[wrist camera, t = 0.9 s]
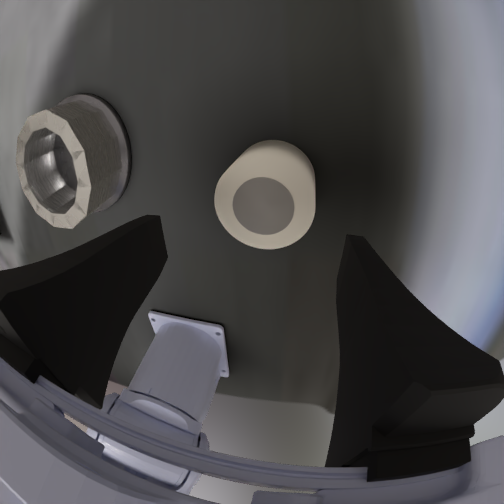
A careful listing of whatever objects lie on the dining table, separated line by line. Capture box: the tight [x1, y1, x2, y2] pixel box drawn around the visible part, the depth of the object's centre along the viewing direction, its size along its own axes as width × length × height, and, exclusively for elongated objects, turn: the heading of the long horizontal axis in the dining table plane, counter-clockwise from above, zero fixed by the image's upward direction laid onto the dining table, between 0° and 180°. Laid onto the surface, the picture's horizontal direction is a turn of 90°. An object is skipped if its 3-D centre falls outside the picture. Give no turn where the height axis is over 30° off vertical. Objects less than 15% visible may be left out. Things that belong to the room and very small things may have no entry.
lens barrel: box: [16, 94, 131, 229], centre depth 16 cm, size 10×10×4 cm
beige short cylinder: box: [214, 140, 315, 249], centre depth 15 cm, size 5×5×4 cm
